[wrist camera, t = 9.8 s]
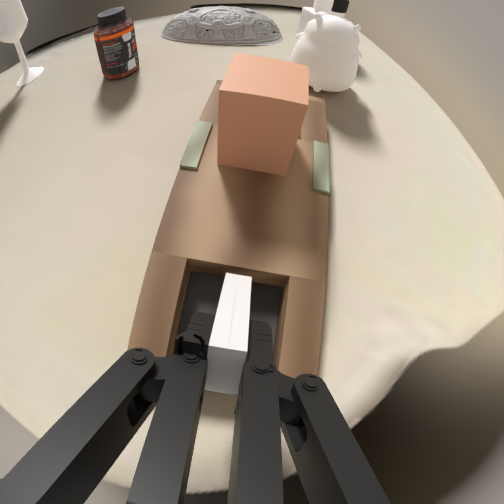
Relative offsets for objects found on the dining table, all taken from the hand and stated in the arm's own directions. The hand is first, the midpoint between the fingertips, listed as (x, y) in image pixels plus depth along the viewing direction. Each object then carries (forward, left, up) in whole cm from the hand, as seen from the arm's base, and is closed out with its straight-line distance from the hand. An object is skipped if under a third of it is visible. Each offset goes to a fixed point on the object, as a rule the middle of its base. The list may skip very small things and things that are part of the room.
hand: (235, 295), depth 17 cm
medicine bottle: (+7, +52, -6) cm, 53 cm away
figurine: (+6, +34, -6) cm, 35 cm away
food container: (-12, +50, -6) cm, 52 cm away
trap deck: (0, +10, -6) cm, 11 cm away
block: (0, +15, -3) cm, 15 cm away
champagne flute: (-49, +35, -6) cm, 60 cm away
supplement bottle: (-24, +32, -6) cm, 40 cm away
